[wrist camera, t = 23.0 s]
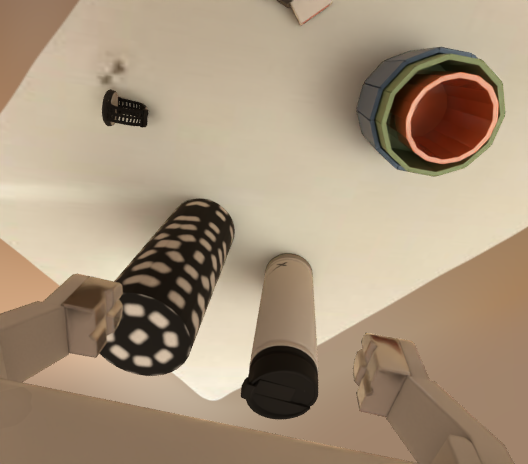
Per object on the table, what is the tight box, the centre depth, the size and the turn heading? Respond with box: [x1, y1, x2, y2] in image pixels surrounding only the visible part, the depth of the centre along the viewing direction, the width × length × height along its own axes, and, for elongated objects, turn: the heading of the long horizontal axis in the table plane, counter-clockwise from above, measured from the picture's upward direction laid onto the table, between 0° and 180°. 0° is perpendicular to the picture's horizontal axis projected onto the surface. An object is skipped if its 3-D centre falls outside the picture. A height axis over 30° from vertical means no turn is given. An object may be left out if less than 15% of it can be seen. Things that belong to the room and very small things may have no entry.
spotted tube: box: [100, 199, 234, 376], centre depth 36 cm, size 8×8×20 cm
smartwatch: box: [102, 89, 148, 127], centre depth 38 cm, size 4×5×5 cm
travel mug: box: [241, 254, 318, 419], centre depth 38 cm, size 6×7×20 cm
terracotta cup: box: [386, 70, 499, 164], centre depth 31 cm, size 6×6×10 cm
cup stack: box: [357, 47, 505, 176], centre depth 32 cm, size 10×10×10 cm
